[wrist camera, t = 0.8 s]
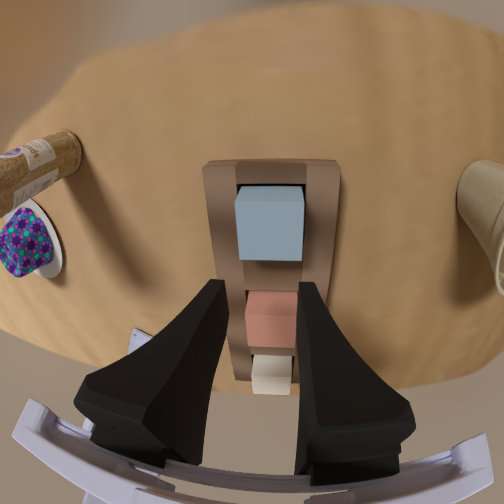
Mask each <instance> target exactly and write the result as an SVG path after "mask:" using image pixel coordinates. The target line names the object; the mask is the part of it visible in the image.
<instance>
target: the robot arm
mask: <svg viewBox="0 0 504 504" xmlns="http://www.w3.org/2000/svg"><path fill="white" fill-rule="evenodd" d="M229 315H230V313H229V307H228V300H227V293H226V286H225V280H220V279H210V280H209V281H208V282H207V283H206V285H205V286H204V287H203V288H202V289H201V290H200V292H199V293H198V294H197V295H196V296H195V297H194V298H193V300H192V301H191V302H190V303H189V304H188V305H187V306H186V307H185V308H184V309H183V310H182V311H181V312H180V313H179V314H178V315H177V316H176V317H175V318H174V319H173V320H172V321H171V322H170V323H169V324H168V325H167V326H166V327H165V328H164V329H163V330H161V331H160V332H159V333H158V334H157V335H155V336H154V337H152V336H150V335H148V334H146V333H144V332H142V331H140V330H138V329H134V330H133V331H132V335H131V340H130V344H129V349H128V353H127V356H125V357H123V358H122V359H120V360H118V361H116V362H114V363H112V364H110V365H108V366H106V367H104V368H102V369H100V370H97V371H95V372H93V373H91V374H88V375H86V377H85V379H84V381H83V383H82V385H81V387H80V389H79V391H78V393H77V395H76V397H75V399H74V405H75V407H76V408H77V409H78V410H79V411H80V412H81V413H82V414H83V415H84V416H86V419H85V422H84V424H83V427H82V428H80V427H77V426H76V425H74V424H72V423H70V422H68V421H66V420H64V419H62V418H60V417H58V416H57V415H56V414H55V413H54V412H52V410H50V409H49V408H48V407H46V406H45V405H43V404H42V403H40V402H38V401H37V400H35V399H33V398H29V400H28V402H27V404H26V406H25V408H24V410H23V412H22V414H21V416H20V419H19V421H18V423H17V425H16V427H15V429H14V431H13V433H12V437H13V438H14V439H15V440H16V441H17V442H19V443H20V444H21V445H22V446H24V447H25V448H26V449H27V450H29V451H30V452H31V453H32V454H34V455H35V456H36V457H38V458H39V459H40V460H41V461H42V462H44V463H45V464H46V465H48V466H49V467H50V468H52V469H53V470H55V471H56V472H57V473H59V474H60V475H62V476H63V477H65V478H66V479H68V480H69V481H71V482H72V483H74V484H75V485H77V486H78V487H80V488H82V489H83V490H85V491H86V493H85V496H84V499H83V502H82V504H235V503H228V502H221V501H215V500H209V499H204V498H199V497H194V496H189V495H185V494H181V493H177V492H174V491H175V486H174V485H173V484H170V483H168V482H165V481H163V480H160V479H159V478H158V477H159V476H160V474H161V475H164V476H168V477H172V478H176V479H180V480H184V481H189V482H193V483H198V484H203V485H208V486H214V487H220V488H227V489H235V490H245V491H255V492H271V493H315V492H330V491H341V490H348V491H346V492H339V493H331V494H323V495H313V496H311V497H310V498H309V499H306V500H305V501H304V504H454V503H456V502H458V501H460V500H462V499H464V498H466V497H468V496H470V495H472V494H474V493H476V492H478V491H480V490H482V489H483V488H485V487H487V486H489V485H490V484H492V483H493V481H494V479H493V471H492V464H491V459H490V453H489V448H488V443H487V439H486V434H485V433H481V434H479V435H476V436H474V437H471V438H469V439H466V440H464V441H462V442H460V443H458V444H457V445H455V446H454V447H452V449H450V450H447V451H444V452H441V453H438V454H435V455H432V456H428V457H425V458H421V459H418V460H414V461H410V462H405V463H401V464H399V458H398V454H400V453H401V445H400V443H401V442H403V441H404V440H405V439H406V438H408V437H409V436H410V435H411V434H412V433H413V432H414V431H415V429H416V423H415V418H414V414H413V411H412V408H411V406H410V403H409V401H408V400H406V399H405V398H404V397H402V396H401V395H400V394H399V393H397V392H396V391H395V390H393V389H392V388H391V387H390V386H389V385H388V384H387V383H385V382H384V381H383V380H382V379H381V378H380V377H379V376H378V375H377V374H376V373H375V372H374V371H373V370H372V369H371V368H370V367H369V366H368V365H367V364H366V363H365V362H364V361H363V359H362V358H361V357H360V356H359V355H358V354H357V352H356V351H355V350H354V349H353V347H352V346H351V345H350V343H349V342H348V341H347V339H346V338H345V337H344V335H343V334H342V332H341V331H340V329H339V328H338V326H337V325H336V323H335V321H334V320H333V318H332V316H331V314H330V313H329V311H328V309H327V307H326V306H325V304H324V302H323V300H322V298H321V296H320V293H319V291H318V289H317V286H316V284H315V283H314V282H299V286H298V300H297V313H296V344H297V355H298V367H299V380H300V401H299V423H298V438H297V450H296V462H295V471H294V475H267V474H252V473H242V472H233V471H225V470H218V469H212V468H206V467H201V466H198V465H199V464H201V463H202V455H203V444H204V435H205V427H206V419H207V412H208V405H209V400H210V394H211V388H212V383H213V379H214V375H215V372H216V368H217V365H218V361H219V358H220V355H221V351H222V348H223V344H224V341H225V337H226V334H227V328H228V321H229Z"/></svg>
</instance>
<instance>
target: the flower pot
mask: <svg viewBox="0 0 504 504" xmlns="http://www.w3.org/2000/svg"><path fill="white" fill-rule="evenodd" d="M457 208H458V212H459V214H460V216H461V217H462V219H463V220H464V221H465V223H466V224H467V226H468V227H469V228H470V230H471V231H472V233H473V234H474V236H475V237H476V239H477V240H478V242H479V243H480V245H481V247H482V248H483V250H484V252H485V253H486V255H487V257H488V259H489V260H490V266H491V269H492V271H493V273H494V281H495V285H496V287H497V289H498V291H499V292H500V294H501V295H503V296H504V165H501V164H498V163H495V162H492V161H490V160H480V161H476V162H473V163H472V164H471V165H469V166H468V168H467V169H466V170H465V171H464V173H463V175H462V177H461V179H460V181H459V184H458V188H457Z"/></svg>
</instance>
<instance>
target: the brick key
mask: <svg viewBox="0 0 504 504" xmlns="http://www.w3.org/2000/svg"><path fill="white" fill-rule="evenodd" d="M296 313H297V291H262V290H249V294H248V300H247V305H246V310H245V321H246V331H247V341H248V346H256V347H281V348H295V339H296Z"/></svg>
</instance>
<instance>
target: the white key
mask: <svg viewBox="0 0 504 504" xmlns="http://www.w3.org/2000/svg"><path fill="white" fill-rule="evenodd" d="M291 373H292V356H273V355H254V359H253V366H252V373H251V378H252V387H253V393H256V394H276V395H289V392H290V384H291Z"/></svg>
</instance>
